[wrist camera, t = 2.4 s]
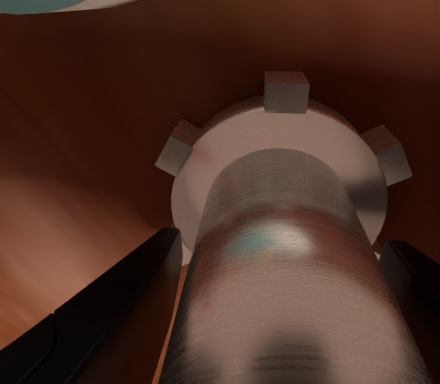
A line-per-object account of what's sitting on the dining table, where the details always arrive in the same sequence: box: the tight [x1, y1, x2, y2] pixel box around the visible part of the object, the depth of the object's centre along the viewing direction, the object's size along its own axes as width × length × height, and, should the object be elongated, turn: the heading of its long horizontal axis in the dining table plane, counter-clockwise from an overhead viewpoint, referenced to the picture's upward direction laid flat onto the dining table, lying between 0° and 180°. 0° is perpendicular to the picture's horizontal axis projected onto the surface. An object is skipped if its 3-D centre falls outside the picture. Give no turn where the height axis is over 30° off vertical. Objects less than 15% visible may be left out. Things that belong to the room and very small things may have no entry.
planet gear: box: [155, 71, 435, 384], centre depth 8 cm, size 7×7×8 cm
